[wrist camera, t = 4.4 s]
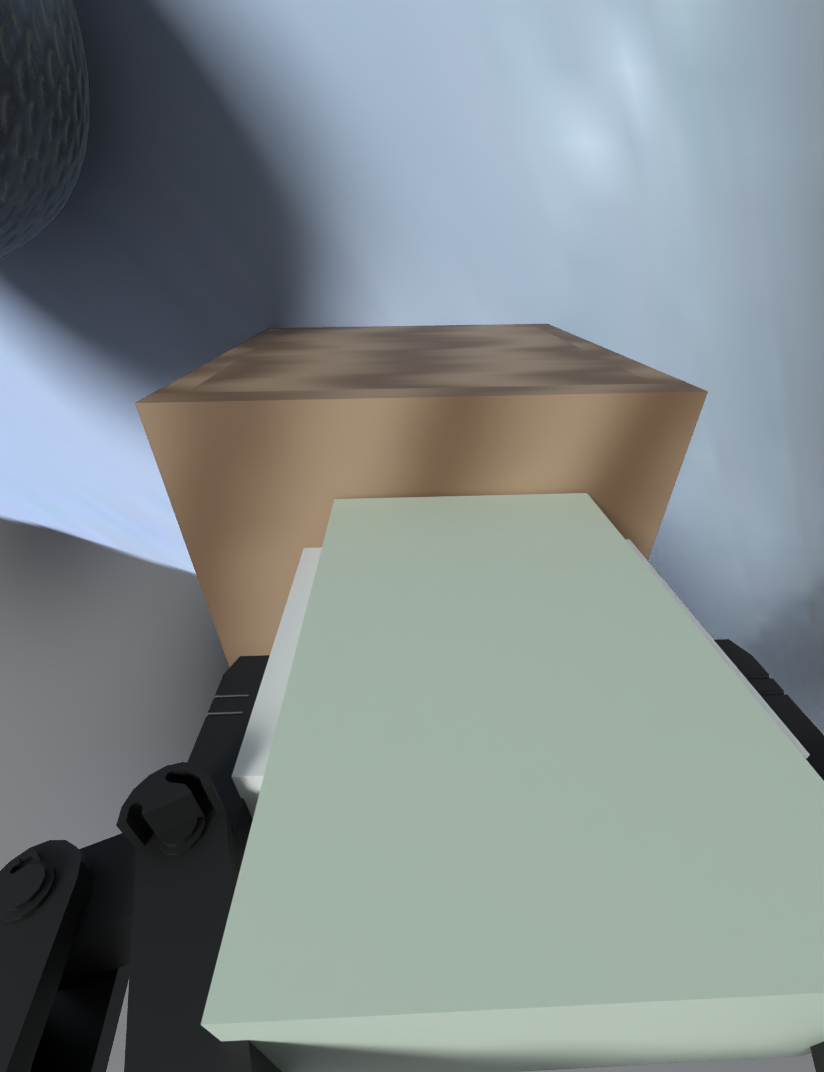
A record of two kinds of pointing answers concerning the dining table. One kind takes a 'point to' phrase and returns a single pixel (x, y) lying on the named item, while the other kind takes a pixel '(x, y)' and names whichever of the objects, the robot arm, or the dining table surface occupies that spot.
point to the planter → (39, 115)
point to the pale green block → (518, 815)
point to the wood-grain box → (398, 442)
